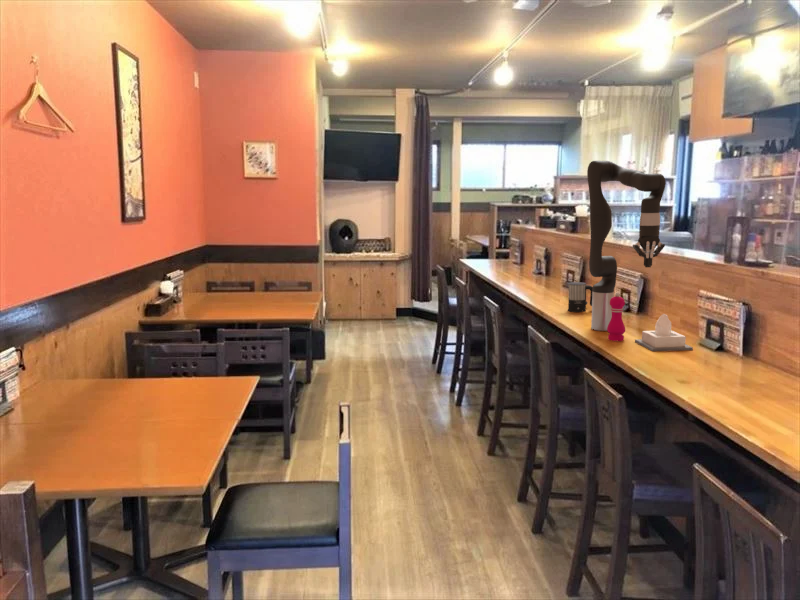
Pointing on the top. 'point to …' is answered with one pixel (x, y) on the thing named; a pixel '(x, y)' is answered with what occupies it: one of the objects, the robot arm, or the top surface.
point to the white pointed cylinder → (663, 326)
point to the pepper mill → (616, 319)
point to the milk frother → (578, 296)
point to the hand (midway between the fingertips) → (647, 267)
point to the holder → (663, 341)
